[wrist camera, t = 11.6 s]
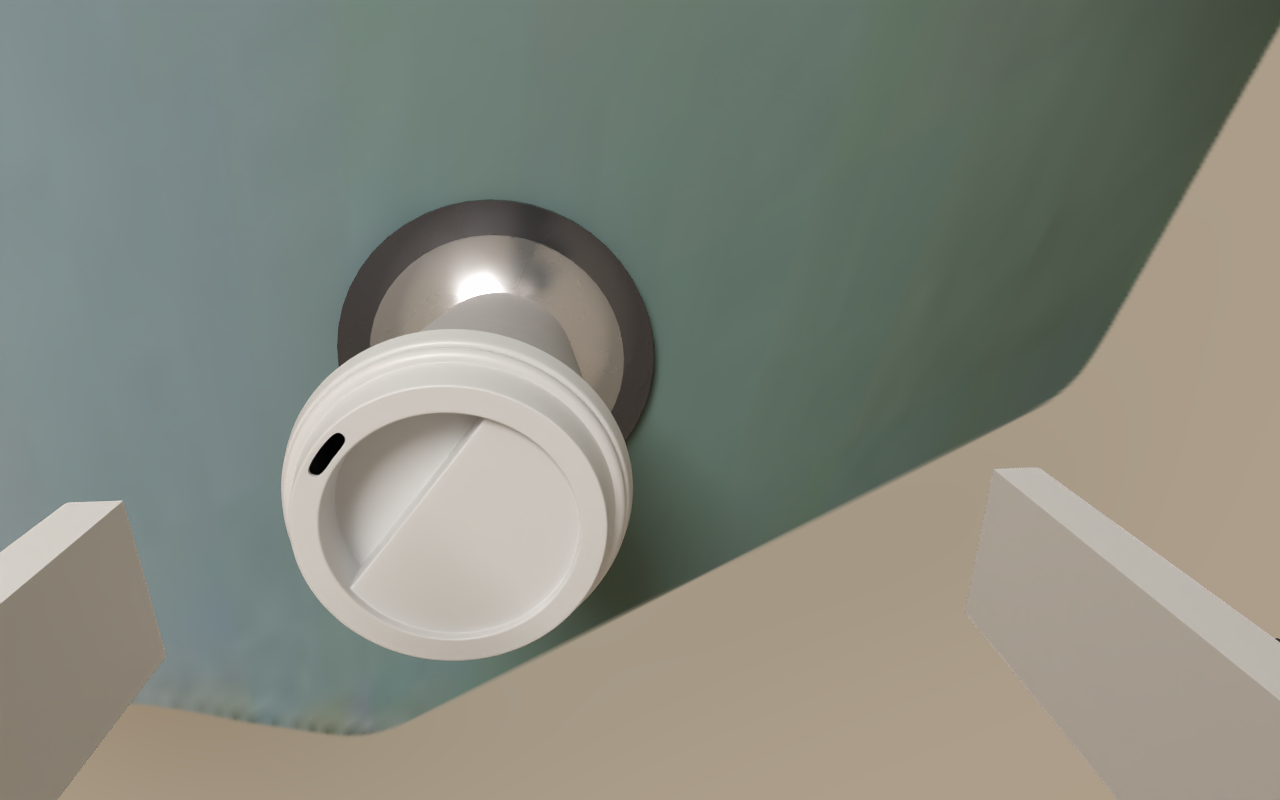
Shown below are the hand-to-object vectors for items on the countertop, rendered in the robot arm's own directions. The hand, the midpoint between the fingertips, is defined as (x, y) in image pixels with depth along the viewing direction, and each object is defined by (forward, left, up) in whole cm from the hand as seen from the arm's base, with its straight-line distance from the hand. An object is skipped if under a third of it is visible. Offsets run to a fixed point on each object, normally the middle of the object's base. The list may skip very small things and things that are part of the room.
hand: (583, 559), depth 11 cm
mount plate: (+3, -3, -23) cm, 23 cm away
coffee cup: (+3, -3, -22) cm, 22 cm away
